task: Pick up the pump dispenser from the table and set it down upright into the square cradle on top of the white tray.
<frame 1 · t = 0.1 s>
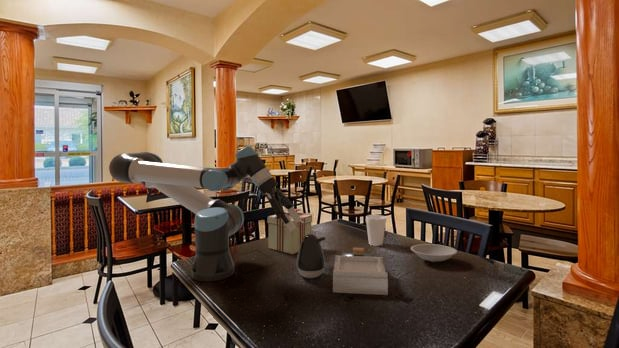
hand: (296, 225, 125), 15 cm above the table, tool tilted 35°, fingers open, 13 cm apart
foam cup: (375, 244, 150), on the table
white tray: (359, 282, 108), on the table
gift box: (293, 248, 146), on the table
dish: (433, 262, 127), on the table
pump dispenser: (311, 276, 114), on the table
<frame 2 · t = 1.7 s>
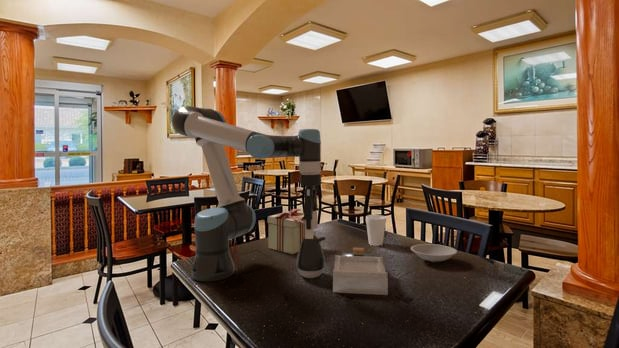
hand: (311, 233, 112), 16 cm above the table, tool pointing down, fingers open, 13 cm apart
nothing on the table moved.
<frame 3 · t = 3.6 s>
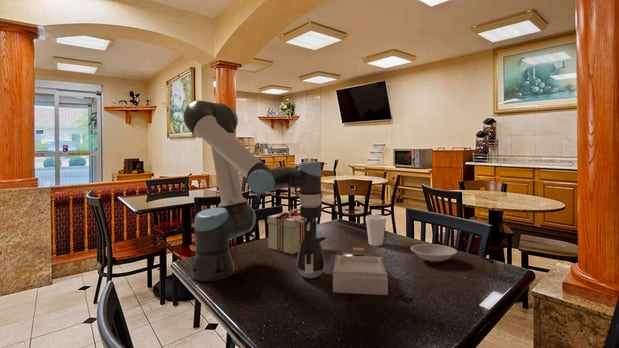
hand: (311, 266, 114), 3 cm above the table, tool pointing down, fingers closed on pump dispenser, 10 cm apart
pump dispenser: (311, 275, 114), on the table, touching gripper
everything else where it was.
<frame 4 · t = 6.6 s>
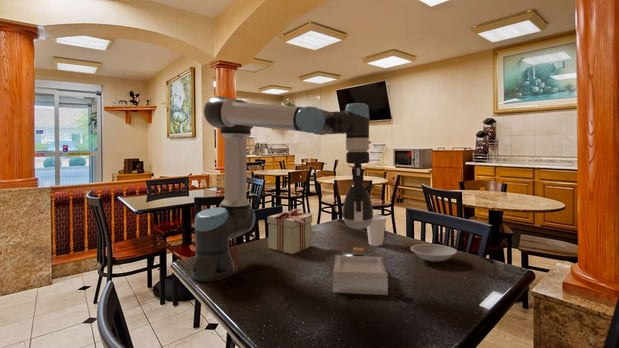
hand: (358, 217, 106), 22 cm above the table, tool pointing down, fingers closed on pump dispenser, 10 cm apart
pump dispenser: (358, 227, 106), point 19 cm above the table, touching gripper
everything else where it was.
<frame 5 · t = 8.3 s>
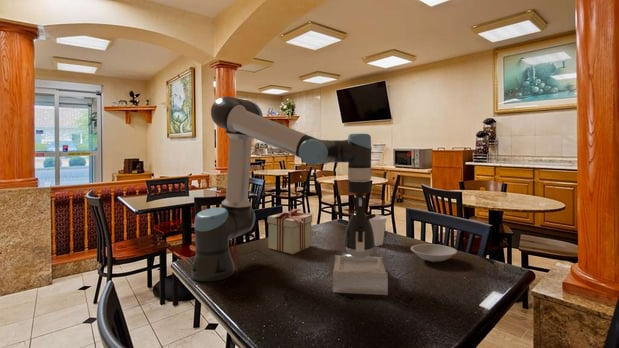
hand: (359, 245, 107), 13 cm above the table, tool pointing down, fingers closed on pump dispenser, 10 cm apart
pump dispenser: (359, 255, 107), point 9 cm above the table, touching gripper
everything else where it was.
when the fingers open (10 cm above the table, at t = 9.8 s): pump dispenser drops 2 cm, resting on white tray.
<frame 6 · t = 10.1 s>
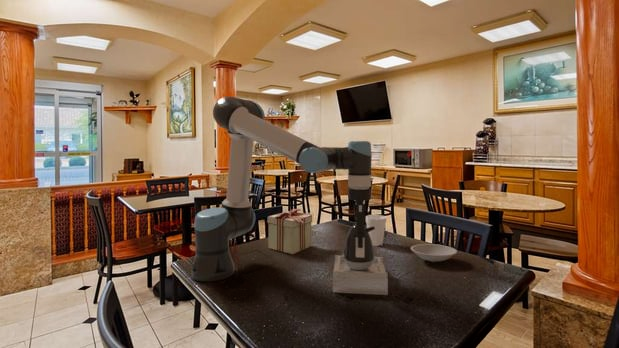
hand: (359, 250, 107), 11 cm above the table, tool pointing down, fingers open, 13 cm apart
pump dispenser: (359, 268, 107), point 5 cm above the table, touching white tray
everything else where it was.
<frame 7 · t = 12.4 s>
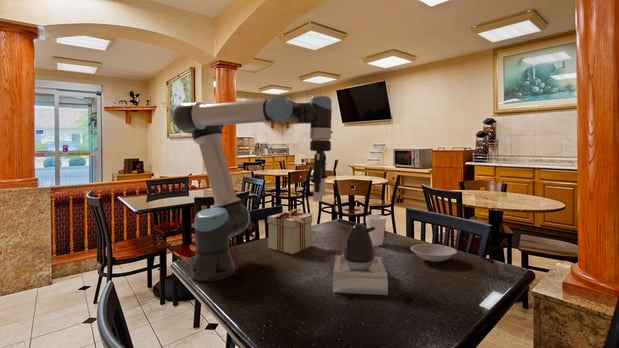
hand: (319, 198, 116), 27 cm above the table, tool pointing down, fingers open, 13 cm apart
nothing on the table moved.
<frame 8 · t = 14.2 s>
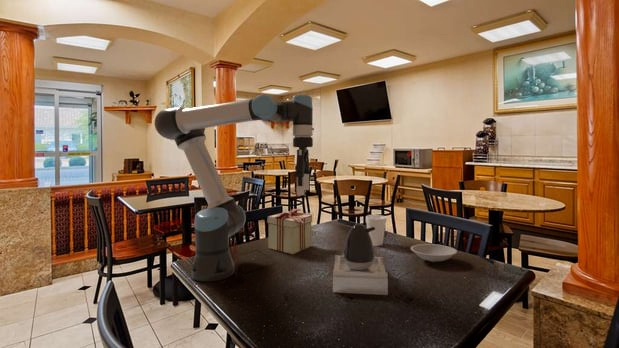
hand: (303, 192, 122), 29 cm above the table, tool pointing down, fingers open, 13 cm apart
nothing on the table moved.
at the end: pump dispenser inside the target area on the white tray (0.1 cm from its centre), point 4.8 cm above the white tray's base; pump dispenser tilted 0°; the gripper is holding nothing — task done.
